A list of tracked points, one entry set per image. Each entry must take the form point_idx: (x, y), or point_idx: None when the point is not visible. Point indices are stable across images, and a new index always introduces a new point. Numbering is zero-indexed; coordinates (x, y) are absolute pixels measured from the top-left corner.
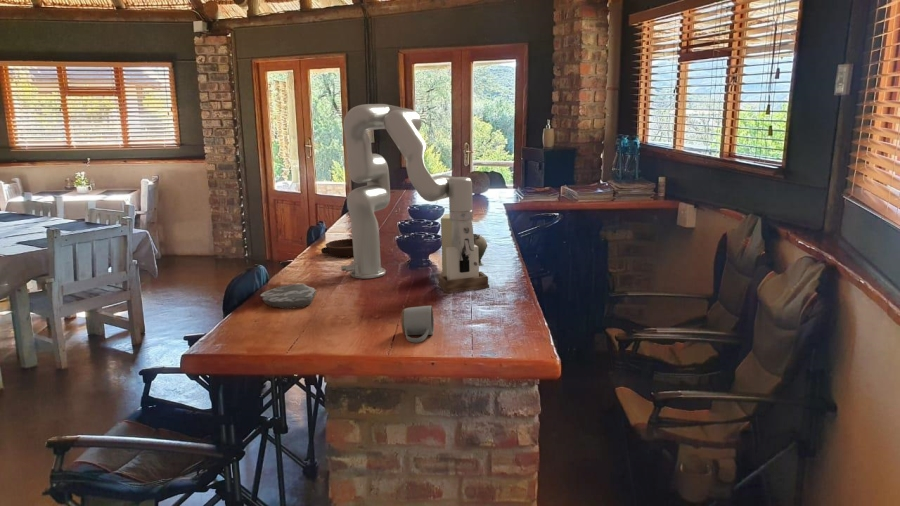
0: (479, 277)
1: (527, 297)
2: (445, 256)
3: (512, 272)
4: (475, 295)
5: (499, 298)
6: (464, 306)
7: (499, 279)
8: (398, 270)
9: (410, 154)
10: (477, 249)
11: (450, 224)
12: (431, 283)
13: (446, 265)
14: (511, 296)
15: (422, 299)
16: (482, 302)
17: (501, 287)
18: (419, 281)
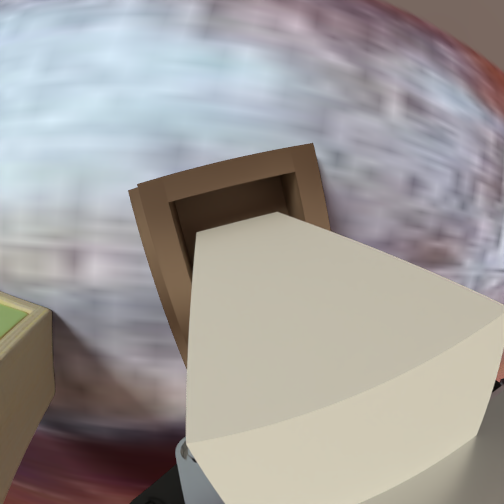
0: (323, 214)
1: (451, 40)
2: (12, 455)
3: (25, 13)
4: (415, 246)
5: (461, 145)
6: (491, 294)
7: (129, 64)
8: (23, 486)
9: None
10: (463, 307)
11: None
12: (173, 442)
13: (31, 414)
14: (444, 88)
15: None
16: (483, 226)
17: (310, 78)
18: (142, 471)
